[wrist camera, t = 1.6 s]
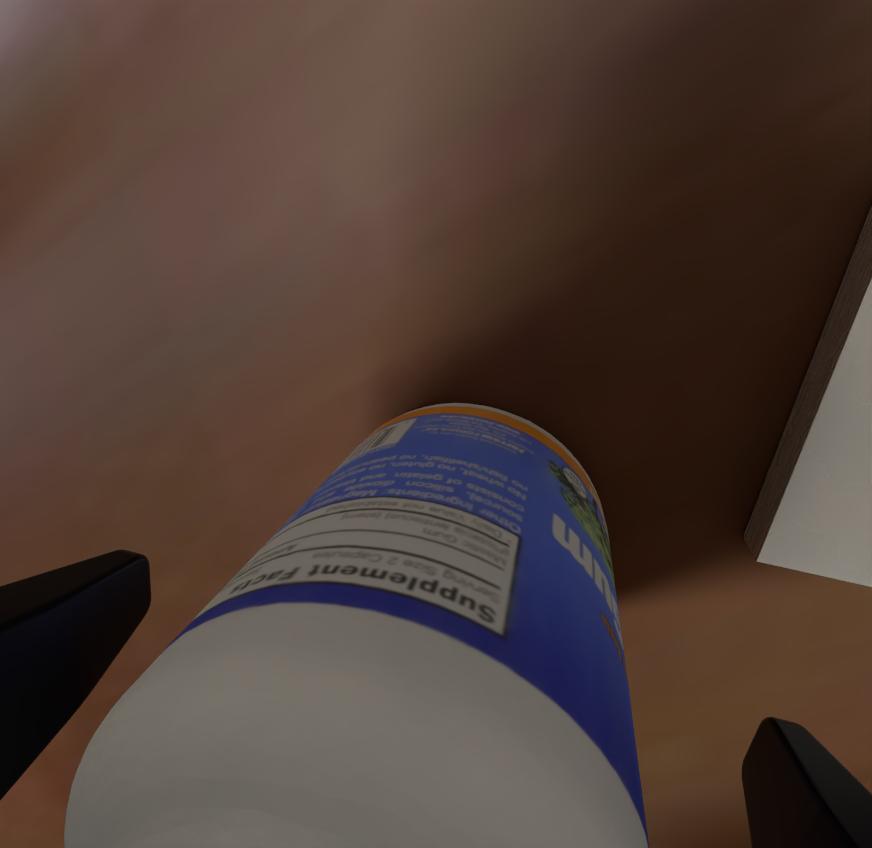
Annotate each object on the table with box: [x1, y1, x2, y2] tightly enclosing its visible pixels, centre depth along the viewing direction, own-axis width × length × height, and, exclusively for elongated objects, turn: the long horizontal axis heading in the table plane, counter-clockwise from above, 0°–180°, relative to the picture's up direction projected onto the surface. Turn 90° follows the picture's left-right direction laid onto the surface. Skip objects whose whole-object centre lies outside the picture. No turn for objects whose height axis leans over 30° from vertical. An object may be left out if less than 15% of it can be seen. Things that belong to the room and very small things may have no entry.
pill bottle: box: [64, 403, 649, 848], centre depth 7 cm, size 5×5×10 cm
